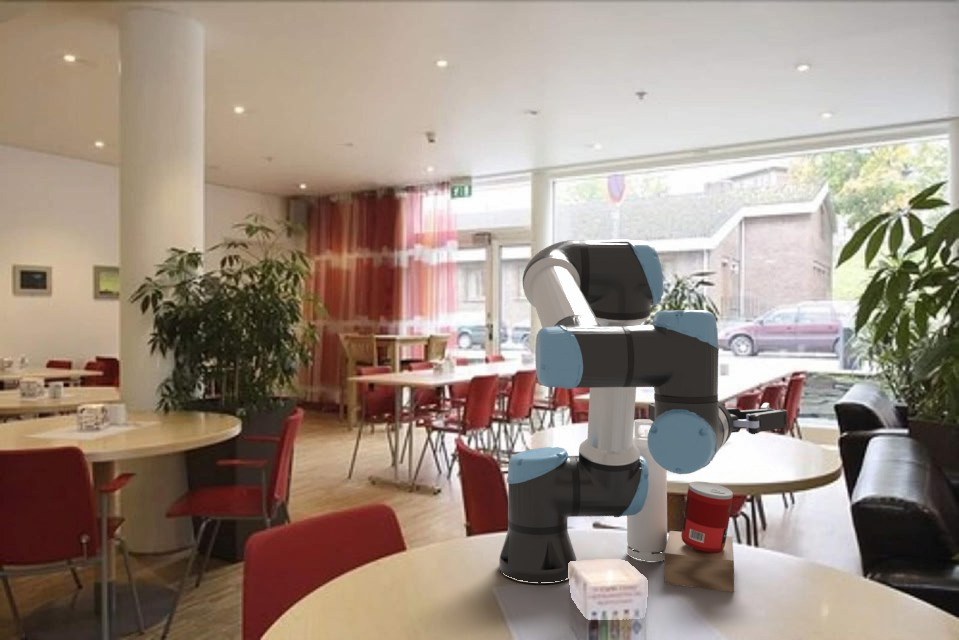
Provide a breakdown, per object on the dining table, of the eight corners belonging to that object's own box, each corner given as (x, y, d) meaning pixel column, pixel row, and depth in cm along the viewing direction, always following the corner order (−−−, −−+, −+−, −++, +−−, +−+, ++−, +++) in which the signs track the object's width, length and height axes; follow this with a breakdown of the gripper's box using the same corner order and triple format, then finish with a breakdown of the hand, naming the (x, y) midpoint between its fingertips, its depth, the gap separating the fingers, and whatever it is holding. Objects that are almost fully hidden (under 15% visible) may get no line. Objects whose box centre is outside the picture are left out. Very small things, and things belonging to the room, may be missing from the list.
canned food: (731, 555, 120) (740, 497, 119) (688, 551, 120) (697, 493, 119) (714, 537, 128) (723, 483, 127) (674, 533, 127) (683, 479, 126)
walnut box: (664, 585, 121) (664, 553, 121) (670, 559, 134) (669, 530, 134) (734, 594, 117) (733, 560, 117) (732, 567, 130) (732, 536, 130)
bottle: (668, 551, 138) (667, 418, 138) (666, 564, 130) (664, 424, 131) (629, 547, 141) (628, 417, 141) (624, 559, 133) (623, 422, 133)
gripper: (610, 446, 94) (646, 426, 113) (802, 462, 83) (806, 437, 102) (610, 395, 95) (645, 383, 113) (801, 403, 83) (806, 389, 102)
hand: (721, 409), depth 107 cm, fingers open, 13 cm apart
